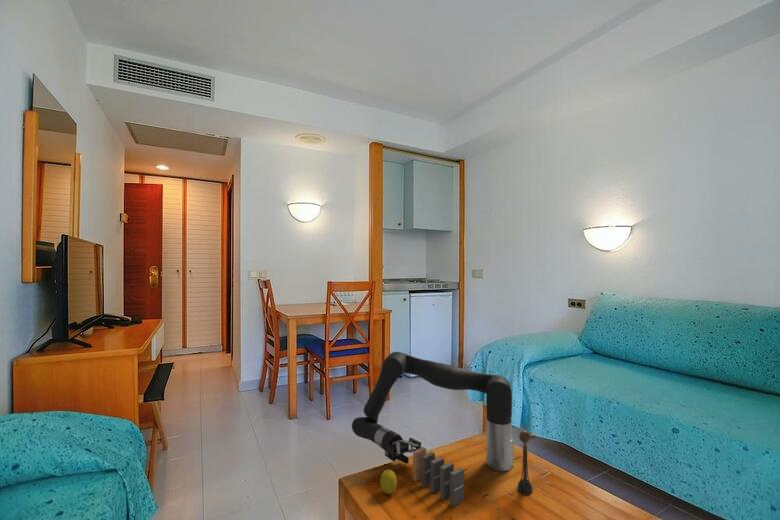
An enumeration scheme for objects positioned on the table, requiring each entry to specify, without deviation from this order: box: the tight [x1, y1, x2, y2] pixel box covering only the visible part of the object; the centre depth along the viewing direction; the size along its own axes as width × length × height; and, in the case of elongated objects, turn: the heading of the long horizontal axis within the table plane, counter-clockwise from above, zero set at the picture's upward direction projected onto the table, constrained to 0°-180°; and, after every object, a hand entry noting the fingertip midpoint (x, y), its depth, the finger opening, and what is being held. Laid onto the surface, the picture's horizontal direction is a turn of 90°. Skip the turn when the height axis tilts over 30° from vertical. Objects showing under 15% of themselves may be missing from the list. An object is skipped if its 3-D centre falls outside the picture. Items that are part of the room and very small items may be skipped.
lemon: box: [379, 469, 398, 495], centre depth 121 cm, size 6×6×8 cm
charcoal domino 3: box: [439, 461, 455, 501], centre depth 120 cm, size 2×5×10 cm, turn 130°
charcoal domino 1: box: [421, 451, 436, 488], centre depth 127 cm, size 2×5×10 cm, turn 129°
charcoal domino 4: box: [449, 466, 465, 508], centre depth 117 cm, size 2×5×10 cm, turn 130°
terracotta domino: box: [412, 446, 427, 482], centre depth 130 cm, size 2×5×10 cm, turn 131°
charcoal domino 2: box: [430, 456, 445, 494], centre depth 124 cm, size 2×5×10 cm, turn 130°
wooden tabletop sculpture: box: [517, 430, 536, 495], centre depth 124 cm, size 6×5×20 cm
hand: (416, 456), depth 131 cm, fingers open, 8 cm apart
